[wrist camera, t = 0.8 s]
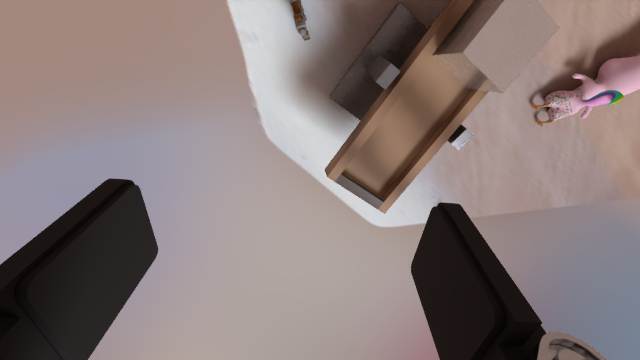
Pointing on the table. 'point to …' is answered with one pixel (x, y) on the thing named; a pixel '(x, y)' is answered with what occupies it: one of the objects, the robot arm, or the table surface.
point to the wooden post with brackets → (300, 19)
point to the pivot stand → (385, 67)
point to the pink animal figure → (595, 89)
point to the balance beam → (406, 121)
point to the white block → (495, 42)
